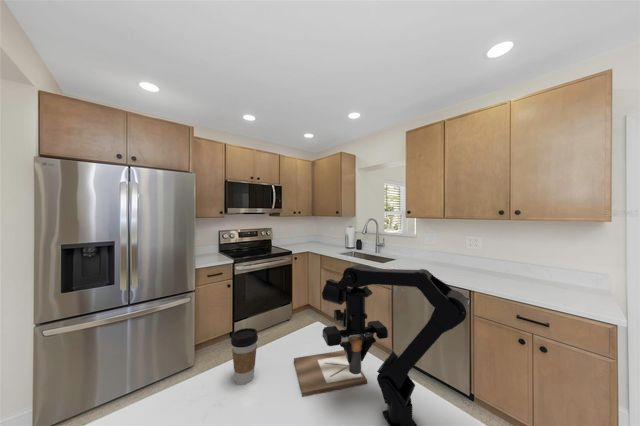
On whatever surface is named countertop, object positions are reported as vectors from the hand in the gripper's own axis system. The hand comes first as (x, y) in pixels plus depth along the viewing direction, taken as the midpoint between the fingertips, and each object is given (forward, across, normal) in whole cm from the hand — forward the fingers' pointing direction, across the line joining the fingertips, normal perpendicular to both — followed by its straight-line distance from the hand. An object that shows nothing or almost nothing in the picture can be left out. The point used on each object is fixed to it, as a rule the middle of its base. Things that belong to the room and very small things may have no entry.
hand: (355, 361), depth 68 cm
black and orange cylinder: (+3, 0, 0) cm, 3 cm away
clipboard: (+11, +4, -13) cm, 17 cm away
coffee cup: (+11, +32, -17) cm, 38 cm away
